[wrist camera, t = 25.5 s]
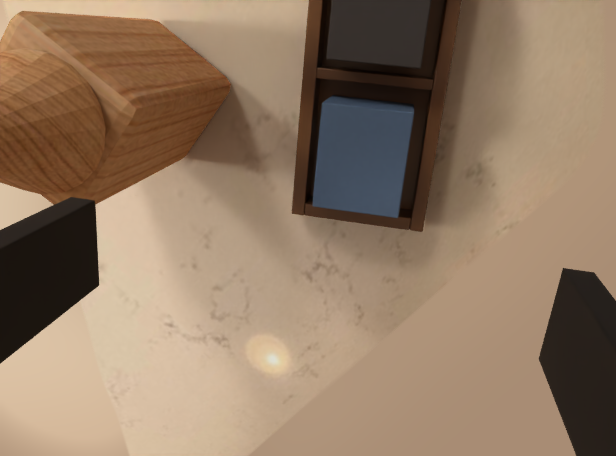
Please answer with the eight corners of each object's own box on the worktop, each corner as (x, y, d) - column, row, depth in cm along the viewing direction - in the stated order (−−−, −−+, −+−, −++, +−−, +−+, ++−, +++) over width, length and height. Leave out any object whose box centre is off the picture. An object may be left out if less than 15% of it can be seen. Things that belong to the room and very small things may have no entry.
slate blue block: (331, 94, 34) (321, 102, 30) (414, 104, 33) (414, 112, 29) (322, 189, 36) (311, 206, 32) (399, 199, 35) (398, 218, 31)
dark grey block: (347, -55, 31) (337, -68, 27) (437, -49, 30) (440, -61, 26) (335, 56, 33) (326, 59, 29) (420, 65, 32) (421, 68, 29)
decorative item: (183, 162, 37) (-46, 287, 19) (104, 99, 37) (-211, 163, 18) (238, 83, 35) (37, 136, 16) (154, 15, 34) (-150, -11, 16)
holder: (323, -92, 31) (316, -101, 29) (472, -82, 30) (477, -91, 28) (298, 204, 37) (291, 213, 35) (422, 221, 36) (422, 232, 34)
